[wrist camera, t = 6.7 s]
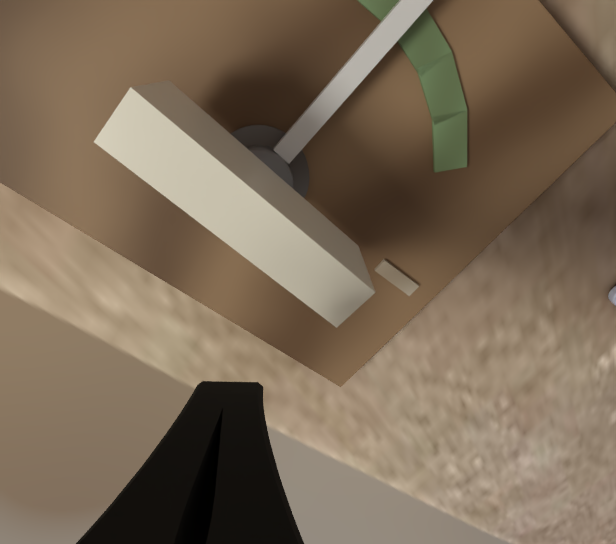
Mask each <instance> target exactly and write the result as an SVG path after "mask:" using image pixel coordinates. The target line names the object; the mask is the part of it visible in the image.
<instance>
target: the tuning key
mask: <svg viewBox="0 0 616 544" xmlns="http://www.w3.org/2000/svg"><path fill="white" fill-rule="evenodd" d="M432 1H433V0H399V1H398V2H397V3H396V5H395V6H394V7H393V8H392V9H391V10H390V12H389V13H388V14H387V15H386V16H385V17H384V19H383V20H382V21H381V22H380V23H379V25H378V26H377V27H376V28H375V29H374V30H373V32H372V33H371V34H370V35H369V36H368V37H367V39H366V40H365V41H364V42H363V43H362V44H361V46H360V47H359V48H358V49H357V50H356V51H355V53H354V54H353V55H352V56H351V57H350V59H349V60H348V61H347V62H346V63H345V64H344V66H343V67H342V68H341V69H340V70H339V71H338V73H337V74H336V75H335V76H334V77H333V78H332V80H331V81H330V82H329V83H328V84H327V86H326V87H325V88H324V89H323V90H322V91H321V93H320V94H319V95H318V96H317V97H316V98H315V100H314V101H313V102H312V103H311V104H310V105H309V107H308V108H307V109H306V110H305V111H304V113H303V114H302V115H301V116H300V117H299V118H298V120H297V121H296V122H295V123H294V124H293V125H292V127H291V128H290V129H289V130H288V131H287V132H286V134H285V135H284V136H283V137H282V138H281V139H280V141H279V142H278V143H277V144H276V145H275V147H274V149H272V148H270V147H267V146H261V145H255V146H249V147H245V146H244V145H243V144H241V143H240V142H239V141H238V140H237V139H236V138H235V137H233V136H232V135H231V134H230V133H229V132H228V131H227V130H225V129H224V128H223V127H222V126H221V125H220V124H219V123H217V122H216V121H215V120H214V119H213V118H212V117H211V116H209V115H208V114H207V113H206V112H205V111H204V110H203V109H201V108H200V107H199V106H198V105H197V104H196V103H195V102H193V101H192V100H191V99H190V98H189V97H188V96H187V95H185V94H184V93H183V92H182V91H181V90H180V89H179V88H177V87H176V86H175V85H174V84H173V83H172V82H171V81H163V82H158V83H152V84H146V85H140V86H134V87H130V89H129V90H128V92H127V93H126V95H125V96H124V98H123V99H122V101H121V102H120V104H119V105H118V106H117V108H116V109H115V111H114V112H113V114H112V115H111V117H110V118H109V120H108V121H107V123H106V124H105V126H104V127H103V129H102V130H101V132H100V133H99V135H98V136H97V138H96V139H95V141H94V143H96V144H97V145H98V146H100V147H101V148H102V149H103V150H105V151H106V152H107V153H109V154H110V155H111V156H113V157H114V158H115V159H117V160H118V161H119V162H120V163H122V164H123V165H124V166H126V167H127V168H128V169H130V170H131V171H132V172H134V173H135V174H136V175H137V176H139V177H140V178H141V179H143V180H144V181H145V182H147V183H148V184H149V185H151V186H152V187H153V188H154V189H156V190H157V191H158V192H160V193H161V194H162V195H164V196H165V197H166V198H168V199H169V200H170V201H171V202H173V203H174V204H175V205H177V206H178V207H179V208H181V209H182V210H183V211H185V212H186V213H187V214H188V215H190V216H191V217H192V218H194V219H195V220H196V221H198V222H199V223H200V224H202V225H203V226H204V227H205V228H207V229H208V230H209V231H211V232H212V233H213V234H215V235H216V236H217V237H219V238H220V239H221V240H222V241H224V242H225V243H226V244H228V245H229V246H230V247H232V248H233V249H234V250H236V251H237V252H238V253H239V254H241V255H242V256H243V257H245V258H246V259H247V260H249V261H250V262H251V263H253V264H254V265H255V266H256V267H258V268H259V269H260V270H262V271H263V272H264V273H266V274H267V275H268V276H270V277H271V278H272V279H273V280H275V281H276V282H277V283H279V284H280V285H281V286H283V287H284V288H285V289H287V290H288V291H289V292H290V293H292V294H293V295H294V296H296V297H297V298H298V299H300V300H301V301H302V302H304V303H305V304H306V305H308V306H309V307H310V308H311V309H313V310H314V311H315V312H317V313H318V314H319V315H321V316H322V317H323V318H325V319H326V320H327V321H328V322H330V323H331V324H332V325H334V326H335V327H336V328H337V327H338V326H339V325H340V324H341V323H342V322H344V321H345V320H346V319H347V318H348V317H349V316H350V315H351V314H352V313H353V312H355V311H356V310H357V309H358V308H359V307H360V306H361V305H362V304H363V303H364V302H366V301H367V300H368V299H369V298H370V297H371V296H372V295H373V294H374V293H376V292H375V290H374V287H373V284H372V282H371V279H370V276H369V274H368V271H367V268H366V265H365V263H364V260H363V257H362V255H361V252H360V249H359V246H358V245H357V244H356V243H355V242H353V241H352V240H351V239H350V238H349V237H348V236H347V235H345V234H344V233H343V232H342V231H341V230H340V229H339V228H337V227H336V226H335V225H334V224H333V223H332V222H331V221H329V220H328V219H327V218H326V217H325V216H324V215H323V214H321V213H320V212H319V211H318V210H317V209H316V208H315V207H313V206H312V205H311V204H310V203H309V202H308V201H307V200H305V199H304V198H303V197H302V196H301V195H300V194H299V193H297V192H296V191H295V190H294V189H293V174H292V170H291V167H290V165H289V163H290V162H291V161H292V160H293V159H294V158H295V157H296V155H297V154H298V153H299V152H300V151H301V150H302V149H303V148H304V146H305V145H306V144H307V143H308V142H309V141H310V140H311V138H312V137H313V136H314V135H315V134H316V133H317V132H318V131H319V129H320V128H321V127H322V126H323V125H324V124H325V123H326V121H327V120H328V119H329V118H330V117H331V116H332V115H333V113H334V112H335V111H336V110H337V109H338V108H339V107H340V106H341V104H342V103H343V102H344V101H345V100H346V99H347V98H348V96H349V95H350V94H351V93H352V92H353V91H354V90H355V89H356V87H357V86H358V85H359V84H360V83H361V82H362V81H363V79H364V78H365V77H366V76H367V75H368V74H369V73H370V71H371V70H372V69H373V68H374V67H375V66H376V65H377V64H378V62H379V61H380V60H381V59H382V58H383V57H384V56H385V54H386V53H387V52H388V51H389V50H390V49H391V48H392V47H393V45H394V44H395V43H396V42H397V41H398V40H399V39H400V37H401V36H402V35H403V34H404V33H405V32H406V31H407V30H408V28H409V27H410V26H411V25H412V24H413V23H414V22H415V20H416V19H417V18H418V17H419V16H420V15H421V14H422V12H423V11H424V10H425V9H426V8H427V7H428V6H429V5H430V3H431V2H432Z"/></svg>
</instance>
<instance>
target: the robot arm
mask: <svg viewBox="0 0 616 544" xmlns="http://www.w3.org/2000/svg"><path fill="white" fill-rule="evenodd" d="M608 298H609V300H610V301H611V302H612V303H613V304H614V305H615V306H616V286H615V287H613V288H612V289H611V291H610V292H609V295H608ZM76 544H304V542H303V540H302V537H301V535H300V532H299V530H298V527H297V525H296V522H295V520H294V517H293V515H292V511H291V509H290V506H289V503H288V500H287V497H286V495H285V492H284V489H283V486H282V482H281V479H280V476H279V473H278V470H277V466H276V463H275V459H274V455H273V452H272V448H271V445H270V440H269V436H268V431H267V426H266V421H265V415H264V407H263V386H262V385H260V384H259V383H258V382H211V381H202V382H201V383H200V384H198V385H197V387H196V389H195V390H194V392H193V394H192V396H191V397H190V399H189V400H188V402H187V404H186V405H185V407H184V408H183V410H182V412H181V413H180V414H179V416H178V417H177V419H176V420H175V422H174V423H173V425H172V426H171V428H170V429H169V430H168V432H167V433H166V435H165V436H164V438H163V439H162V440H161V441H160V443H159V444H158V445H157V447H156V448H155V450H154V451H153V452H152V454H151V455H150V457H149V458H148V459H147V460H146V462H145V463H144V464H143V466H142V467H141V468H140V469H139V471H138V472H137V473H136V474H135V476H134V477H133V478H132V479H131V480H130V482H129V483H128V484H127V485H126V487H125V488H124V489H123V491H122V492H121V493H120V494H119V495H118V496H117V498H116V499H115V500H114V502H113V503H112V504H111V505H110V506H109V507H108V508H107V510H106V511H105V512H104V513H103V514H102V515H101V517H100V518H99V519H98V520H97V521H96V522H95V523H94V524H93V526H92V527H91V528H90V529H89V530H88V531H87V532H86V533H85V535H84V536H83V537H82V538H81V539H80V540H79V541H78V542H77V543H76Z"/></svg>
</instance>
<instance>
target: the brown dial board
mask: <svg viewBox="0 0 616 544" xmlns="http://www.w3.org/2000/svg"><path fill="white" fill-rule="evenodd" d="M398 1H399V0H0V183H2V184H4V185H5V186H7V187H9V188H10V189H12V190H14V191H15V192H17V193H19V194H20V195H22V196H24V197H25V198H27V199H29V200H30V201H32V202H34V203H35V204H37V205H39V206H40V207H42V208H44V209H45V210H47V211H49V212H50V213H52V214H54V215H55V216H57V217H59V218H60V219H62V220H64V221H65V222H67V223H69V224H70V225H72V226H74V227H75V228H77V229H79V230H80V231H82V232H84V233H85V234H87V235H89V236H90V237H92V238H94V239H95V240H97V241H99V242H100V243H102V244H103V245H105V246H107V247H108V248H110V249H112V250H113V251H115V252H117V253H118V254H120V255H122V256H123V257H125V258H127V259H128V260H130V261H132V262H133V263H135V264H137V265H138V266H140V267H142V268H143V269H145V270H147V271H148V272H150V273H152V274H153V275H155V276H157V277H158V278H160V279H162V280H163V281H165V282H167V283H168V284H170V285H172V286H173V287H175V288H177V289H178V290H180V291H182V292H183V293H185V294H187V295H188V296H190V297H192V298H193V299H195V300H197V301H198V302H200V303H202V304H203V305H205V306H207V307H208V308H210V309H212V310H213V311H215V312H217V313H218V314H220V315H222V316H223V317H225V318H227V319H228V320H230V321H232V322H233V323H235V324H237V325H238V326H240V327H242V328H243V329H245V330H247V331H248V332H250V333H252V334H253V335H255V336H257V337H258V338H260V339H262V340H263V341H265V342H267V343H268V344H270V345H272V346H273V347H275V348H277V349H278V350H280V351H282V352H283V353H285V354H287V355H288V356H290V357H292V358H293V359H295V360H297V361H298V362H300V363H302V364H303V365H305V366H307V367H308V368H310V369H312V370H313V371H315V372H317V373H318V374H320V375H322V376H323V377H325V378H327V379H328V380H330V381H332V382H333V383H335V384H336V385H338V386H340V387H341V386H342V385H343V384H344V383H345V382H346V381H347V380H348V379H350V378H351V377H352V376H353V375H354V374H355V373H356V372H357V371H358V370H359V369H360V368H361V367H362V366H363V365H364V364H365V363H366V362H367V361H368V360H369V359H370V358H371V357H372V356H373V355H374V354H375V353H377V352H378V351H379V350H380V349H381V348H382V347H383V346H384V345H385V344H386V343H387V342H388V341H389V340H390V339H391V338H392V337H393V336H394V335H395V334H396V333H397V332H398V331H399V330H400V329H401V328H403V327H404V326H405V325H406V324H407V323H408V322H409V321H410V320H411V319H412V318H413V317H414V316H415V315H416V314H417V313H418V312H419V311H420V310H421V309H422V308H423V307H424V306H425V305H426V304H427V303H428V302H430V301H431V300H432V299H433V298H434V297H435V296H436V295H437V294H438V293H439V292H440V291H441V290H442V289H443V288H444V287H445V286H446V285H447V284H448V283H449V282H450V281H451V280H452V279H453V278H454V277H455V276H457V275H458V274H459V273H460V272H461V271H462V270H463V269H464V268H465V267H466V266H467V265H468V264H469V263H470V262H471V261H472V260H473V259H474V258H475V257H476V256H477V255H478V254H479V253H480V252H481V251H483V250H484V249H485V248H486V247H487V246H488V245H489V244H490V243H491V242H492V241H493V240H494V239H495V238H496V237H497V236H498V235H499V234H500V233H501V232H502V231H503V230H504V229H505V228H506V227H507V226H508V225H510V224H511V223H512V222H513V221H514V220H515V219H516V218H517V217H518V216H519V215H520V214H521V213H522V212H523V211H524V210H525V209H526V208H527V207H528V206H529V205H530V204H531V203H532V202H533V201H534V200H535V199H537V198H538V197H539V196H540V195H541V194H542V193H543V192H544V191H545V190H546V189H547V188H548V187H549V186H550V185H551V184H552V183H553V182H554V181H555V180H556V179H557V178H558V177H559V176H560V175H561V174H563V173H564V172H565V171H566V170H567V169H568V168H569V167H570V166H571V165H572V164H573V163H574V162H575V161H576V160H577V159H578V158H579V157H580V156H581V155H582V154H583V153H584V152H585V151H586V150H587V149H588V148H590V147H591V146H592V145H593V144H594V143H595V142H596V141H597V140H598V139H599V138H600V137H601V136H602V135H603V134H604V133H605V132H606V131H607V130H608V129H609V128H610V127H611V126H612V125H613V124H614V123H615V122H616V92H615V91H614V90H613V89H612V88H611V86H610V85H609V84H608V83H607V82H606V80H605V79H604V78H603V77H602V76H601V74H600V73H599V72H598V71H597V70H596V68H595V67H594V66H593V65H592V64H591V62H590V61H589V60H588V59H587V58H586V56H585V55H584V54H583V53H582V52H581V50H580V49H579V48H578V47H577V46H576V45H575V43H574V42H573V41H572V40H571V39H570V37H569V36H568V35H567V34H566V33H565V31H564V30H563V29H562V28H561V27H560V25H559V24H558V23H557V22H556V21H555V19H554V18H553V17H552V16H551V15H550V13H549V12H548V11H547V10H546V9H545V7H544V6H543V5H542V4H541V3H540V1H539V0H433V1H432V2H431V3H430V5H429V6H428V7H427V8H426V9H425V10H424V11H423V12H422V14H421V15H420V16H419V17H418V18H417V19H416V20H415V22H414V23H413V24H412V25H411V26H410V27H409V28H408V30H407V31H406V32H405V33H404V34H403V35H402V36H401V37H400V39H399V40H398V41H397V42H396V43H395V44H394V45H393V47H392V48H391V49H390V50H389V51H388V52H387V53H386V54H385V56H384V57H383V58H382V59H381V60H380V61H379V62H378V64H377V65H376V66H375V67H374V68H373V69H372V70H371V71H370V73H369V74H368V75H367V76H366V77H365V78H364V79H363V81H362V82H361V83H360V84H359V85H358V86H357V87H356V89H355V90H354V91H353V92H352V93H351V94H350V95H349V96H348V98H347V99H346V100H345V101H344V102H343V103H342V104H341V106H340V107H339V108H338V109H337V110H336V111H335V112H334V113H333V115H332V116H331V117H330V118H329V119H328V120H327V121H326V123H325V124H324V125H323V126H322V127H321V128H320V129H319V131H318V132H317V133H316V134H315V135H314V136H313V137H312V138H311V140H310V141H309V142H308V143H307V144H306V145H305V146H304V148H303V149H302V150H301V151H300V152H299V153H298V154H297V155H296V157H295V158H294V159H293V160H292V161H291V162H290V163H289V165H290V167H291V170H292V174H293V189H294V190H295V191H296V192H297V193H299V194H300V195H301V196H302V197H303V198H304V199H305V200H307V201H308V202H309V203H310V204H311V205H312V206H313V207H315V208H316V209H317V210H318V211H319V212H320V213H321V214H323V215H324V216H325V217H326V218H327V219H328V220H329V221H331V222H332V223H333V224H334V225H335V226H336V227H337V228H339V229H340V230H341V231H342V232H343V233H344V234H345V235H347V236H348V237H349V238H350V239H351V240H352V241H353V242H355V243H356V244H357V245H358V246H359V249H360V252H361V255H362V257H363V260H364V263H365V265H366V268H367V271H368V274H369V276H370V279H371V282H372V284H373V287H374V290H375V292H376V293H374V294H373V295H372V296H371V297H370V298H369V299H368V300H367V301H366V302H364V303H363V304H362V305H361V306H360V307H359V308H358V309H357V310H356V311H355V312H353V313H352V314H351V315H350V316H349V317H348V318H347V319H346V320H345V321H344V322H342V323H341V324H340V325H339V326H338V327H337V328H336V327H335V326H334V325H332V324H331V323H330V322H328V321H327V320H326V319H325V318H323V317H322V316H321V315H319V314H318V313H317V312H315V311H314V310H313V309H311V308H310V307H309V306H308V305H306V304H305V303H304V302H302V301H301V300H300V299H298V298H297V297H296V296H294V295H293V294H292V293H290V292H289V291H288V290H287V289H285V288H284V287H283V286H281V285H280V284H279V283H277V282H276V281H275V280H273V279H272V278H271V277H270V276H268V275H267V274H266V273H264V272H263V271H262V270H260V269H259V268H258V267H256V266H255V265H254V264H253V263H251V262H250V261H249V260H247V259H246V258H245V257H243V256H242V255H241V254H239V253H238V252H237V251H236V250H234V249H233V248H232V247H230V246H229V245H228V244H226V243H225V242H224V241H222V240H221V239H220V238H219V237H217V236H216V235H215V234H213V233H212V232H211V231H209V230H208V229H207V228H205V227H204V226H203V225H202V224H200V223H199V222H198V221H196V220H195V219H194V218H192V217H191V216H190V215H188V214H187V213H186V212H185V211H183V210H182V209H181V208H179V207H178V206H177V205H175V204H174V203H173V202H171V201H170V200H169V199H168V198H166V197H165V196H164V195H162V194H161V193H160V192H158V191H157V190H156V189H154V188H153V187H152V186H151V185H149V184H148V183H147V182H145V181H144V180H143V179H141V178H140V177H139V176H137V175H136V174H135V173H134V172H132V171H131V170H130V169H128V168H127V167H126V166H124V165H123V164H122V163H120V162H119V161H118V160H117V159H115V158H114V157H113V156H111V155H110V154H109V153H107V152H106V151H105V150H103V149H102V148H101V147H100V146H98V145H97V144H96V143H94V141H95V139H96V138H97V136H98V135H99V133H100V132H101V130H102V129H103V127H104V126H105V124H106V123H107V121H108V120H109V118H110V117H111V115H112V114H113V112H114V111H115V109H116V108H117V106H118V105H119V104H120V102H121V101H122V99H123V98H124V96H125V95H126V93H127V92H128V90H129V89H130V87H134V86H140V85H146V84H152V83H158V82H163V81H171V82H172V83H173V84H174V85H175V86H176V87H177V88H179V89H180V90H181V91H182V92H183V93H184V94H185V95H187V96H188V97H189V98H190V99H191V100H192V101H193V102H195V103H196V104H197V105H198V106H199V107H200V108H201V109H203V110H204V111H205V112H206V113H207V114H208V115H209V116H211V117H212V118H213V119H214V120H215V121H216V122H217V123H219V124H220V125H221V126H222V127H223V128H224V129H225V130H227V131H228V132H229V133H230V134H231V135H232V136H233V137H235V138H236V139H237V140H238V141H239V142H240V143H241V144H243V145H244V146H245V147H249V146H255V145H261V146H267V147H270V148H272V149H274V147H275V145H276V144H277V143H278V142H279V141H280V139H281V138H282V137H283V136H284V135H285V134H286V132H287V131H288V130H289V129H290V128H291V127H292V125H293V124H294V123H295V122H296V121H297V120H298V118H299V117H300V116H301V115H302V114H303V113H304V111H305V110H306V109H307V108H308V107H309V105H310V104H311V103H312V102H313V101H314V100H315V98H316V97H317V96H318V95H319V94H320V93H321V91H322V90H323V89H324V88H325V87H326V86H327V84H328V83H329V82H330V81H331V80H332V78H333V77H334V76H335V75H336V74H337V73H338V71H339V70H340V69H341V68H342V67H343V66H344V64H345V63H346V62H347V61H348V60H349V59H350V57H351V56H352V55H353V54H354V53H355V51H356V50H357V49H358V48H359V47H360V46H361V44H362V43H363V42H364V41H365V40H366V39H367V37H368V36H369V35H370V34H371V33H372V32H373V30H374V29H375V28H376V27H377V26H378V25H379V23H380V22H381V21H382V20H383V19H384V17H385V16H386V15H387V14H388V13H389V12H390V10H391V9H392V8H393V7H394V6H395V5H396V3H397V2H398Z"/></svg>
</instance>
